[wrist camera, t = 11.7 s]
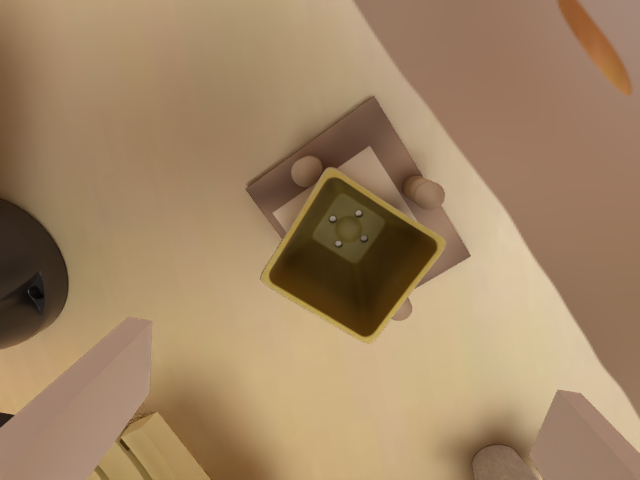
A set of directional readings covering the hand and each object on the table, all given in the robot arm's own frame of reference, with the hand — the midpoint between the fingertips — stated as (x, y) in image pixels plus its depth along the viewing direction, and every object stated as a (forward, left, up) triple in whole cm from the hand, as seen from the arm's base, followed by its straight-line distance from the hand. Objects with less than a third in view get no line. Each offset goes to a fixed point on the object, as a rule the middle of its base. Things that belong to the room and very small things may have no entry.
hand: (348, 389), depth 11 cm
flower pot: (0, +1, -20) cm, 20 cm away
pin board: (0, +2, -21) cm, 21 cm away
